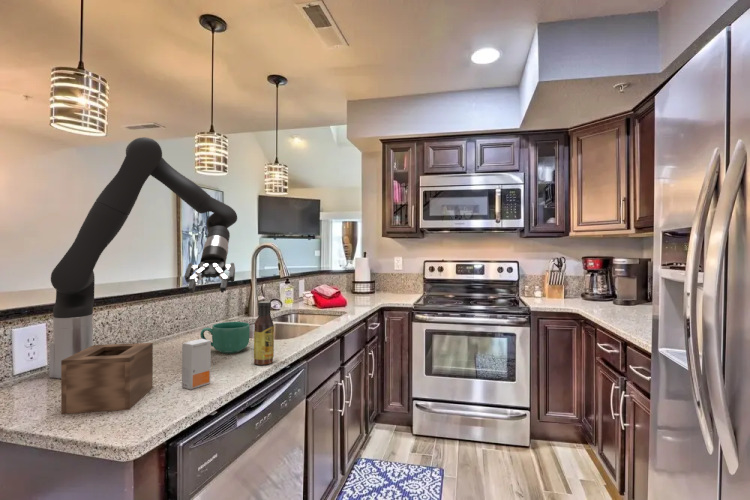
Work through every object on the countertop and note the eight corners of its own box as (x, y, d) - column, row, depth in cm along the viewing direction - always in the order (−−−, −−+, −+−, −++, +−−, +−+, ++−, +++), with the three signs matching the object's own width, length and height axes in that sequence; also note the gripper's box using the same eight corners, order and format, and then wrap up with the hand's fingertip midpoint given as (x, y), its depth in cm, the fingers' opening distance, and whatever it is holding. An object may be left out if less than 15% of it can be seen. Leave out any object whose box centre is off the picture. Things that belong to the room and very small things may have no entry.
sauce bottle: (268, 366, 123) (268, 303, 122) (249, 365, 124) (250, 303, 124) (277, 360, 129) (277, 300, 129) (260, 359, 130) (260, 300, 130)
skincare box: (190, 390, 102) (190, 344, 102) (181, 387, 104) (181, 342, 104) (211, 383, 107) (211, 340, 107) (201, 380, 109) (202, 338, 109)
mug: (252, 346, 148) (252, 321, 148) (246, 355, 135) (246, 328, 135) (206, 347, 145) (206, 322, 145) (195, 356, 133) (195, 329, 133)
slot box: (61, 413, 87) (61, 360, 87) (94, 390, 101) (94, 344, 101) (129, 409, 90) (129, 357, 90) (152, 387, 104) (152, 342, 104)
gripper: (189, 244, 124) (178, 283, 113) (236, 244, 127) (230, 282, 116) (194, 260, 129) (184, 299, 118) (239, 259, 132) (233, 298, 121)
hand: (207, 291), depth 117 cm, fingers open, 8 cm apart
